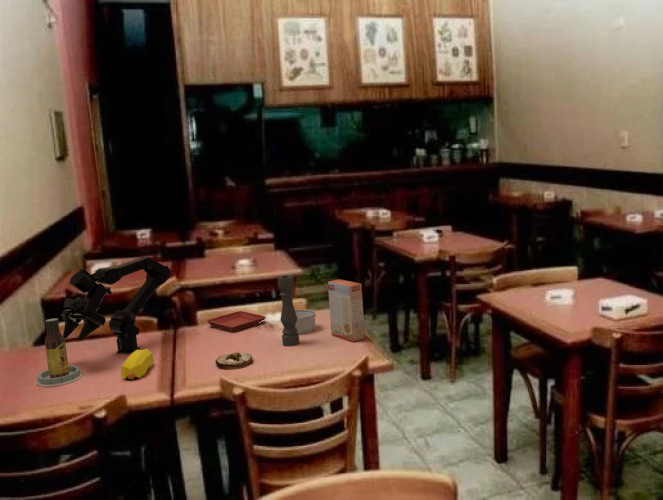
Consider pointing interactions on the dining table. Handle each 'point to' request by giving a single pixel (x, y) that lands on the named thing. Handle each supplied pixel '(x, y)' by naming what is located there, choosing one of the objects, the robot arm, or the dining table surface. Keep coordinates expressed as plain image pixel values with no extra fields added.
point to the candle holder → (288, 311)
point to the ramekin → (305, 320)
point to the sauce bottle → (56, 350)
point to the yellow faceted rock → (137, 364)
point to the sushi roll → (234, 360)
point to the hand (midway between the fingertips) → (71, 339)
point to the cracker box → (346, 310)
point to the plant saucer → (236, 321)
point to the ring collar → (59, 378)
